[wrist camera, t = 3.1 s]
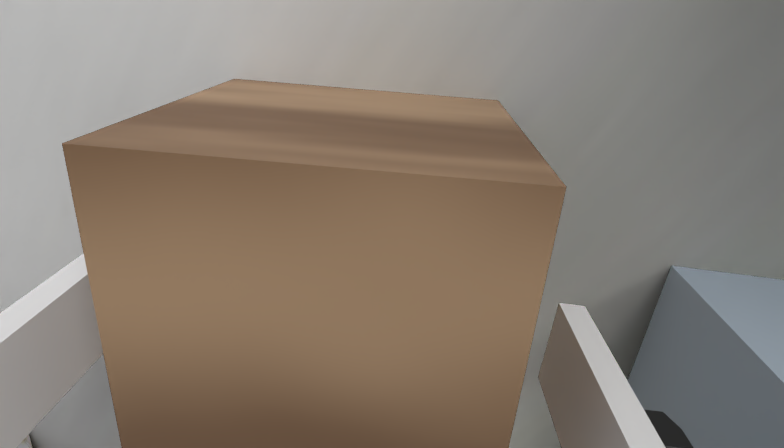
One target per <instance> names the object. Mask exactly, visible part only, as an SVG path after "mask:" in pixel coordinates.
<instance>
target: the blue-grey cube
mask: <svg viewBox="0 0 784 448" xmlns="http://www.w3.org/2000/svg"><path fill="white" fill-rule="evenodd" d="M628 383H629V384H630V386H631V388H632V390H633V391H634V393H635V395H636V397H637V398H638V400H639V402H640V404H641V405H642V407H643V409H644V410H653V411H661V412H664V413H665V414H666V415H667V416H668V417H669V418H670V419H671V420H672V421H673V422H675V423H676V424H677V425H678V426H679V427H680V428H681V429H682V430H683V432H684V433H685V435H686V437H687V438H688V440H689V441H690V443H691V444H692V446H693V448H784V280H781V279H773V278H765V277H757V276H749V275H742V274H734V273H726V272H718V271H710V270H702V269H694V268H686V267H679V266H671V268H670V271H669V273H668V276H667V279H666V281H665V284H664V287H663V289H662V292H661V294H660V297H659V300H658V302H657V305H656V308H655V310H654V313H653V315H652V318H651V321H650V323H649V326H648V329H647V331H646V334H645V336H644V339H643V342H642V344H641V347H640V349H639V352H638V355H637V357H636V360H635V363H634V365H633V368H632V370H631V373H630V376H629V378H628Z"/></svg>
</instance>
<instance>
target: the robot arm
mask: <svg viewBox="0 0 784 448" xmlns="http://www.w3.org/2000/svg"><path fill="white" fill-rule="evenodd" d="M102 354H103V349H102V344H101V339H100V334H99V329H98V324H97V319H96V314H95V309H94V303H93V298H92V293H91V288H90V283H89V278H88V273H87V268H86V263H85V258H84V253H83V254H82V255H80V256H79V257H78V258H76V259H75V260H73V261H72V262H71V263H69V264H68V265H66V266H65V267H64V268H62V269H61V270H59V271H58V272H57V273H55V274H54V275H52V276H51V277H50V278H48V279H47V280H46V281H44V282H43V283H41V284H40V285H39V286H37V287H36V288H34V289H33V290H32V291H30V292H29V293H27V294H26V295H25V296H23V297H22V298H20V299H19V300H18V301H16V302H15V303H13V304H12V305H11V306H9V307H8V308H7V309H5V310H4V311H2V312H1V313H0V448H16V447H17V446H18V445H19V444H20V443H21V442H22V441H23V440H24V439H25V438H26V437H27V435H28V434H29V433H30V432H31V431H32V430H33V429H34V428H35V427H36V426H37V425H38V424H39V423H40V421H41V420H42V419H43V418H44V417H45V416H46V415H47V414H48V413H49V412H50V411H51V410H52V408H53V407H54V406H55V405H56V404H57V403H58V402H59V401H60V400H61V399H62V398H63V397H64V395H65V394H66V393H67V392H68V391H69V390H70V389H71V388H72V387H73V386H74V385H75V384H76V382H77V381H78V380H79V379H80V378H81V377H82V376H83V375H84V374H85V373H86V372H87V371H88V369H89V368H90V367H91V366H92V365H93V364H94V363H95V362H96V361H97V360H98V359H99V358H100V356H101V355H102ZM538 378H539V381H540V384H541V387H542V390H543V393H544V396H545V399H546V402H547V405H548V408H549V411H550V414H551V417H552V420H553V423H554V426H555V429H556V432H557V435H558V438H559V441H560V444H561V447H562V448H693V446H692V444H691V443H690V441H689V440H688V438H687V437H686V435H685V433H684V432H683V430H682V429H681V428H680V427H679V426H678V425H677V424H676V423H675V422H673V421H672V420H671V419H670V418H669V417H668V416H667V415H666V414H665V413H664V412H661V411H653V410H644V409H643V407H642V405H641V404H640V402H639V400H638V398H637V397H636V395H635V393H634V391H633V390H632V388H631V386H630V384H629V383H628V381H627V379H626V377H625V376H624V374H623V372H622V370H621V369H620V367H619V365H618V363H617V362H616V360H615V358H614V356H613V355H612V353H611V351H610V349H609V348H608V346H607V344H606V342H605V341H604V339H603V337H602V335H601V334H600V332H599V330H598V328H597V327H596V325H595V323H594V321H593V320H592V318H591V316H590V314H589V313H588V311H587V309H586V307H585V306H581V305H573V304H565V303H559V305H558V308H557V312H556V315H555V319H554V323H553V326H552V330H551V333H550V337H549V340H548V344H547V347H546V351H545V354H544V358H543V361H542V365H541V368H540V372H539V376H538Z"/></svg>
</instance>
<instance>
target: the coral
mask: <svg viewBox="0 0 784 448" xmlns="http://www.w3.org/2000/svg"><path fill="white" fill-rule="evenodd" d="M16 448H33V447H32V444H31V440H30V436H29V434H28V435H27V437H26V438H25V439H24V440H23V441H22V442H21V443H20V444H19V445H18V446H17V447H16Z"/></svg>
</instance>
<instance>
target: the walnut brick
mask: <svg viewBox="0 0 784 448" xmlns="http://www.w3.org/2000/svg"><path fill="white" fill-rule="evenodd" d="M62 146H63V151H64V156H65V161H66V166H67V171H68V176H69V181H70V186H71V191H72V197H73V202H74V207H75V212H76V217H77V222H78V227H79V232H80V237H81V242H82V247H83V253H84V258H85V263H86V268H87V273H88V278H89V283H90V288H91V293H92V298H93V303H94V309H95V314H96V319H97V324H98V329H99V334H100V339H101V344H102V349H103V354H104V359H105V365H106V370H107V375H108V380H109V385H110V390H111V395H112V400H113V405H114V410H115V415H116V421H117V426H118V431H119V436H120V441H121V446H122V448H509V443H510V439H511V434H512V430H513V425H514V421H515V416H516V412H517V407H518V403H519V398H520V394H521V389H522V385H523V380H524V376H525V371H526V367H527V362H528V358H529V353H530V349H531V344H532V340H533V335H534V331H535V326H536V322H537V317H538V313H539V308H540V304H541V299H542V295H543V290H544V286H545V281H546V277H547V272H548V268H549V263H550V259H551V254H552V250H553V245H554V241H555V236H556V232H557V227H558V223H559V218H560V214H561V209H562V205H563V200H564V196H565V191H566V186H565V185H564V183H563V182H562V181H561V180H560V178H559V177H558V176H557V174H556V173H555V172H554V171H553V169H552V168H551V167H550V166H549V164H548V163H547V162H546V161H545V159H544V158H543V157H542V155H541V154H540V153H539V152H538V150H537V149H536V148H535V147H534V145H533V144H532V143H531V142H530V140H529V139H528V138H527V136H526V135H525V134H524V133H523V131H522V130H521V129H520V128H519V126H518V125H517V124H516V122H515V121H514V120H513V119H512V117H511V116H510V115H509V114H508V112H507V111H506V110H505V109H504V107H503V106H502V105H501V103H500V102H499V101H497V100H485V99H473V98H461V97H448V96H436V95H424V94H412V93H400V92H387V91H375V90H363V89H351V88H339V87H326V86H314V85H302V84H290V83H278V82H266V81H253V80H241V79H232V80H230V81H227V82H224V83H222V84H219V85H216V86H214V87H211V88H209V89H206V90H203V91H201V92H198V93H195V94H193V95H190V96H187V97H185V98H182V99H179V100H177V101H174V102H171V103H169V104H166V105H163V106H161V107H158V108H155V109H153V110H150V111H147V112H145V113H142V114H139V115H137V116H134V117H131V118H129V119H126V120H123V121H121V122H118V123H115V124H113V125H110V126H107V127H105V128H102V129H99V130H97V131H94V132H91V133H89V134H86V135H83V136H81V137H78V138H75V139H73V140H70V141H67V142H65V143H62Z"/></svg>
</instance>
